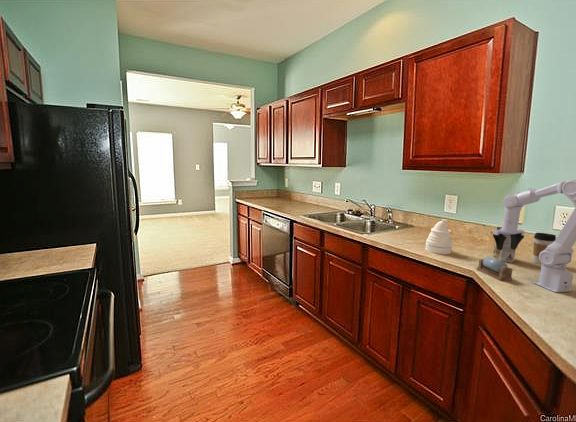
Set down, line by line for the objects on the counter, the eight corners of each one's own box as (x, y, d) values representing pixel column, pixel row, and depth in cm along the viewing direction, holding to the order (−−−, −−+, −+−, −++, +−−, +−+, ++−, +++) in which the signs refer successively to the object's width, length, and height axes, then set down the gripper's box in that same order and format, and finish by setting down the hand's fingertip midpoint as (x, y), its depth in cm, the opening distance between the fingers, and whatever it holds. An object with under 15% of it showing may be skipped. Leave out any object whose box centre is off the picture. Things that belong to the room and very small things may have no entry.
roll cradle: (487, 269, 142) (489, 258, 141) (511, 279, 129) (513, 268, 128) (476, 269, 140) (478, 259, 140) (499, 280, 128) (501, 269, 127)
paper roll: (506, 273, 131) (508, 262, 130) (496, 274, 130) (498, 263, 129) (491, 267, 139) (493, 256, 138) (481, 267, 138) (483, 256, 137)
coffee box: (491, 255, 162) (496, 226, 159) (505, 256, 160) (510, 227, 157) (500, 261, 153) (505, 230, 150) (514, 262, 151) (519, 231, 148)
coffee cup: (543, 266, 147) (548, 236, 145) (525, 260, 155) (530, 232, 153) (555, 264, 150) (561, 235, 147) (537, 259, 158) (542, 231, 155)
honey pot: (456, 253, 164) (460, 221, 161) (437, 255, 161) (441, 222, 157) (438, 246, 176) (442, 216, 173) (420, 247, 173) (423, 217, 169)
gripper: (516, 218, 144) (511, 246, 146) (489, 219, 141) (485, 247, 144) (530, 222, 137) (525, 250, 139) (502, 222, 134) (498, 252, 137)
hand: (506, 249), depth 141 cm, fingers open, 7 cm apart
